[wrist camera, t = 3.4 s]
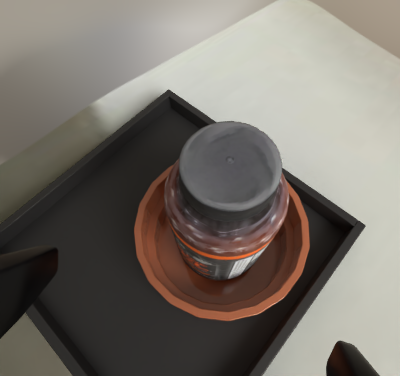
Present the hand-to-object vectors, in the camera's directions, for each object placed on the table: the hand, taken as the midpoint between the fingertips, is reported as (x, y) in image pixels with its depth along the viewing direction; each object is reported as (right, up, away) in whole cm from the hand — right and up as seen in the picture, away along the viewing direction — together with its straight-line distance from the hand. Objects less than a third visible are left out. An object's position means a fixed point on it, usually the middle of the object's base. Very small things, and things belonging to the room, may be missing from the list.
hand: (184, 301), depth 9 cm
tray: (-2, 0, +13) cm, 13 cm away
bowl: (+2, 0, +13) cm, 13 cm away
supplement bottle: (+2, 0, +12) cm, 13 cm away
